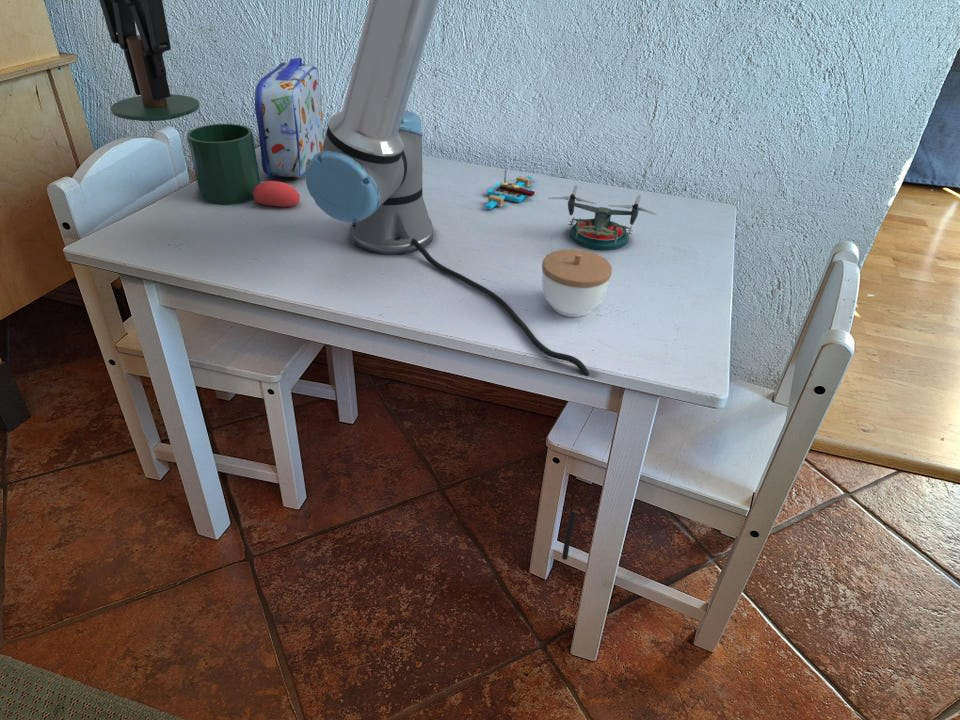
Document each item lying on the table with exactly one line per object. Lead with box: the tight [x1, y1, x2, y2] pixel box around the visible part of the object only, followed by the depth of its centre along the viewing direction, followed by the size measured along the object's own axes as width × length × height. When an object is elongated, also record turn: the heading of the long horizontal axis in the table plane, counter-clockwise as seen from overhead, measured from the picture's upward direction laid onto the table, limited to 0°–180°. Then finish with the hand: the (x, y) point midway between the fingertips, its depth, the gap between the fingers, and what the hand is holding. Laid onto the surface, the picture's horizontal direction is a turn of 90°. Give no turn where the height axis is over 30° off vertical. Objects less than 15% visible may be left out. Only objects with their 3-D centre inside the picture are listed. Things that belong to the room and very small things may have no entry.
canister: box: [186, 123, 262, 205], centre depth 134 cm, size 12×12×12 cm
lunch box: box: [254, 57, 325, 179], centre depth 146 cm, size 28×10×22 cm, turn 1°
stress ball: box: [253, 180, 301, 208], centre depth 132 cm, size 5×9×6 cm, turn 72°
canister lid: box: [110, 34, 200, 122], centre depth 104 cm, size 13×13×11 cm
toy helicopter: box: [547, 185, 658, 251], centre depth 123 cm, size 20×15×8 cm
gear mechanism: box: [485, 168, 536, 210], centre depth 140 cm, size 20×5×9 cm
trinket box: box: [541, 248, 613, 318], centre depth 103 cm, size 11×11×9 cm
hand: (153, 95), depth 105 cm, fingers closed on canister lid, 4 cm apart
